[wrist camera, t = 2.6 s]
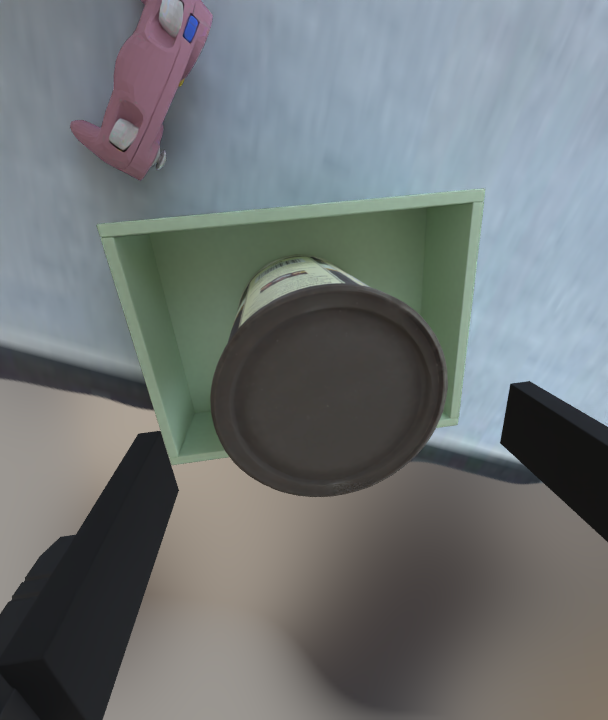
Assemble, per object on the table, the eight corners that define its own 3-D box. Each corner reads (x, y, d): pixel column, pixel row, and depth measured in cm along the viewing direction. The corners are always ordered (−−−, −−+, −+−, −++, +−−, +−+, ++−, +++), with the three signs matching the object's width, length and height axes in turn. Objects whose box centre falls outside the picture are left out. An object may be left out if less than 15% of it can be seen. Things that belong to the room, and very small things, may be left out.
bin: (138, 224, 23) (95, 223, 17) (433, 196, 25) (486, 188, 19) (189, 418, 30) (171, 465, 24) (421, 387, 31) (458, 425, 25)
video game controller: (141, 179, 24) (157, 200, 19) (66, 134, 20) (62, 145, 16) (203, 33, 21) (240, 13, 16) (128, -44, 18) (146, -97, 13)
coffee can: (304, 396, 30) (334, 529, 17) (211, 324, 26) (157, 423, 13) (387, 313, 27) (494, 392, 15) (296, 222, 24) (332, 221, 11)
